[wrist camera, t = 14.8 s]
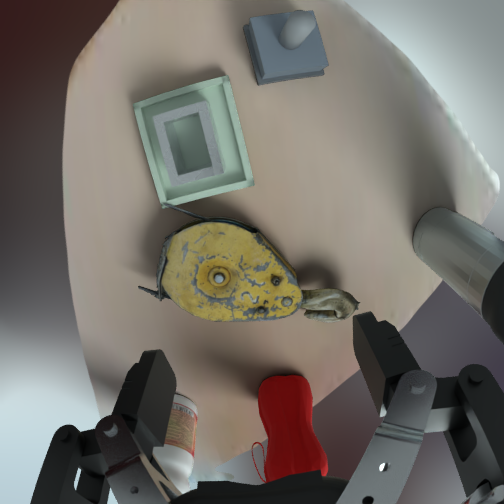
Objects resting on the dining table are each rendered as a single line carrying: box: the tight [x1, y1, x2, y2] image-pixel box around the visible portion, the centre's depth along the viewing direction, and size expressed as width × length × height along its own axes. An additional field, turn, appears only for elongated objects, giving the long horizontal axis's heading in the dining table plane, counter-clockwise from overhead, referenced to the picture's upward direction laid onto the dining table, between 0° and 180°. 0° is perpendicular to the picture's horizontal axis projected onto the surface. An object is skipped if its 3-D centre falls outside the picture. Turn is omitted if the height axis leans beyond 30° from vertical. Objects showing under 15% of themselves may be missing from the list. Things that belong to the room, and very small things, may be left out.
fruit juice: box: [153, 394, 198, 494], centre depth 41 cm, size 9×9×28 cm
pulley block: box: [138, 204, 361, 322], centre depth 40 cm, size 14×6×30 cm
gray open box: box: [153, 101, 226, 187], centre depth 32 cm, size 6×8×5 cm
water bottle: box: [252, 375, 328, 483], centre depth 41 cm, size 9×11×25 cm
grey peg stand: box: [243, 10, 328, 85], centre depth 25 cm, size 8×8×12 cm
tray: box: [133, 75, 255, 209], centre depth 34 cm, size 12×14×2 cm
